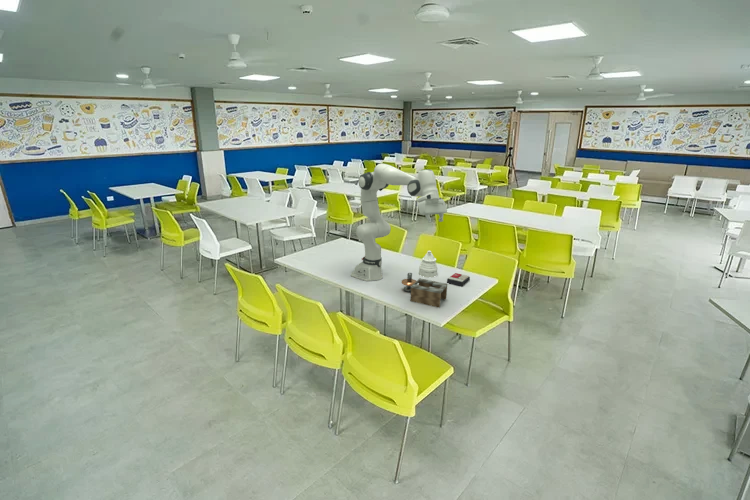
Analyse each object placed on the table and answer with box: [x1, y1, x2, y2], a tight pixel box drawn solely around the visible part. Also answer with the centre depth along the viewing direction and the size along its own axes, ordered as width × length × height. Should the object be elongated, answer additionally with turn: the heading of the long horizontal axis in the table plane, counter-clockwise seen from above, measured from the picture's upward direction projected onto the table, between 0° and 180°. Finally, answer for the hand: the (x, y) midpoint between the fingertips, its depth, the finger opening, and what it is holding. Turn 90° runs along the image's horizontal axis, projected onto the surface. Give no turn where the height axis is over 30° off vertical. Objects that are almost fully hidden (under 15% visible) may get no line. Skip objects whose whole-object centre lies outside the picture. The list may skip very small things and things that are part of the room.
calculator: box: [446, 272, 471, 288], centre depth 262 cm, size 11×4×15 cm
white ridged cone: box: [418, 250, 438, 278], centre depth 272 cm, size 13×13×18 cm
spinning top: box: [401, 272, 417, 293], centre depth 244 cm, size 10×10×12 cm
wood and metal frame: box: [410, 277, 448, 308], centre depth 231 cm, size 18×14×10 cm
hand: (435, 222), depth 211 cm, fingers open, 8 cm apart
